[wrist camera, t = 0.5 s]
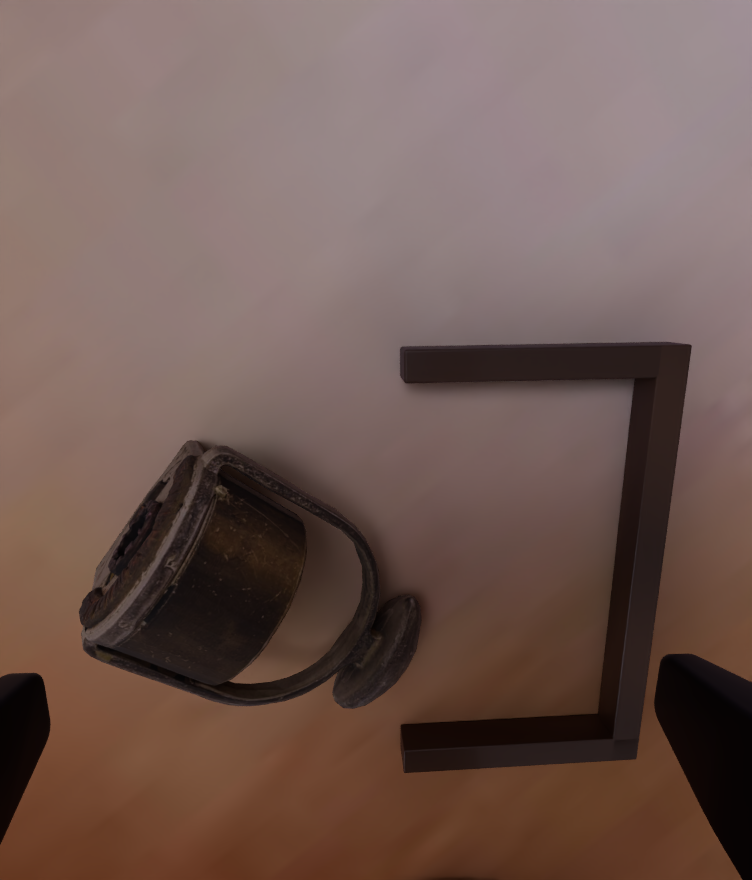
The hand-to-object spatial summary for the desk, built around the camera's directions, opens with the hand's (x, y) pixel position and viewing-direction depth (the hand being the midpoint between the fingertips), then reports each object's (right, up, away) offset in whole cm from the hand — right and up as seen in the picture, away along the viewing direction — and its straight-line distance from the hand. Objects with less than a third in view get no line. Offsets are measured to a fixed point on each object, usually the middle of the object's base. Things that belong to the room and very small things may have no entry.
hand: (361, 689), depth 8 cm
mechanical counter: (-4, -2, +15) cm, 15 cm away
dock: (+7, -2, +15) cm, 16 cm away
